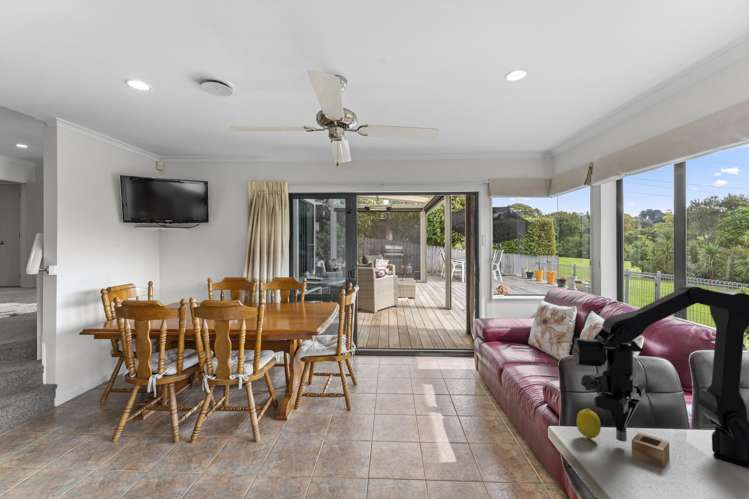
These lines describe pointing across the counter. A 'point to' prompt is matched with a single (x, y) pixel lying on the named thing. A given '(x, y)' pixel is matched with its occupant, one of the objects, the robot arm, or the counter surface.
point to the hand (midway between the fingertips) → (621, 429)
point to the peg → (621, 435)
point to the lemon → (588, 423)
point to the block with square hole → (650, 449)
